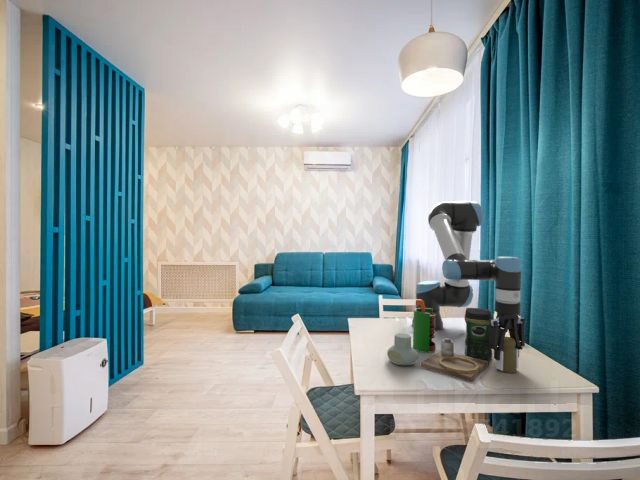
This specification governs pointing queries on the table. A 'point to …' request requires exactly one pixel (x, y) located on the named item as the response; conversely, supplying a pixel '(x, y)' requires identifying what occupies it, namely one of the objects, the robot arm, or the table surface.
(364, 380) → the table surface
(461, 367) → the carrier board
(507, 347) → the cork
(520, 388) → the table surface
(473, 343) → the coffee jar
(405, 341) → the air freshener
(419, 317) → the motor
